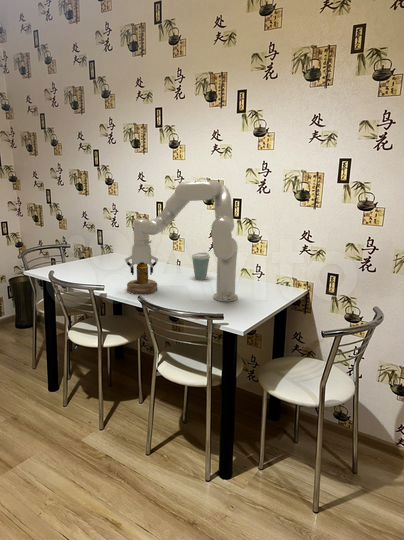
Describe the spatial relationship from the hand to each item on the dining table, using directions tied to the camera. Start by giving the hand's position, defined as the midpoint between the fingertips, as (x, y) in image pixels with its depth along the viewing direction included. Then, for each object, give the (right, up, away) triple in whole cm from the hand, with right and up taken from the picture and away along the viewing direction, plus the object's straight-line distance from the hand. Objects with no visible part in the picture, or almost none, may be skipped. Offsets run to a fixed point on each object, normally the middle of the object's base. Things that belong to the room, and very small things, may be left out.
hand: (141, 274), depth 229 cm
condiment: (-1, -5, +1) cm, 5 cm away
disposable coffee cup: (+31, -3, +25) cm, 40 cm away
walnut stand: (0, -8, +2) cm, 9 cm away
